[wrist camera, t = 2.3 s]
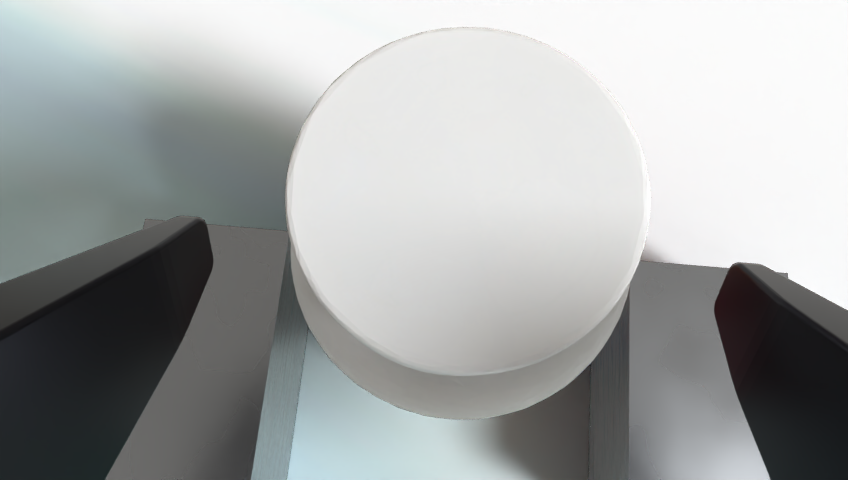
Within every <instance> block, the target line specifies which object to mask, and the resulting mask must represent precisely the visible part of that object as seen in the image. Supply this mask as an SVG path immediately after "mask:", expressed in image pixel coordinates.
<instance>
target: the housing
mask: <svg viewBox="0 0 848 480" xmlns="http://www.w3.org/2000/svg"><path fill="white" fill-rule="evenodd" d="M162 222H164V221H163V220H152V219H145V222H144V227H143V229H146V228H148V227H151V226H154V225H156V224H159V223H162ZM207 227H208V232H209V237H210V242H211V247H212V252H213V260H214V262H213V269H212V272H211V274H210V277H209V279H208V282H207V284H206V286H205V289H204V291H203V294H202V296H201V298H200V301H199V303H198V306H197V308H196V311H195V313H194V315H193V318H192V320H191V323H190V325H189V328H188V330H187V332H186V334H185V336H184V339H183V341H182V343H181V344H180V346H179V348H178V350H177V352H176V354H175V356H174V357H173V359H172V361H171V363H170V365H169V366H168V368H167V370H166V372H165V373H164V375H163V377H162V379H161V381H160V382H159V384H158V386H157V388H156V390H155V391H154V393H153V395H152V397H151V398H150V400H149V402H148V404H147V406H146V407H145V409H144V411H143V413H142V415H141V416H140V418H139V420H138V422H137V423H136V425H135V427H134V429H133V431H132V432H131V434H130V436H129V438H128V440H127V441H126V443H125V445H124V447H123V448H122V450H121V452H120V454H119V456H118V457H117V459H116V461H115V463H114V465H113V466H112V468H111V470H110V472H109V474H108V475H107V477H106V479H105V480H287V474H288V467H289V460H290V453H291V446H292V439H293V432H294V425H295V418H296V411H297V404H298V397H299V390H300V383H301V376H302V369H303V362H304V355H305V348H306V340H307V333H308V324H307V322H306V320H305V318H304V315H303V313H302V310H301V307H300V305H299V302H298V299H297V295H296V291H295V287H294V283H293V276H292V269H291V242H290V238H289V234H288V231H282V230H270V229H258V228H246V227H234V226H223V225H211V224H207ZM126 236H127V235H126ZM728 270H729V268H719V267H708V266H696V265H684V264H672V263H660V262H648V261H639V264H638V266H637V268H636V271H635V273H634V275H633V278H632V280H631V281H630V286H629V291H628V295H627V298H626V301H625V304H624V307H623V310H622V313H621V316H620V318H619V320H618V322H617V324H616V326H615V328H614V330H613V332H612V334H611V335H610V337H609V339H608V340H607V342H606V343H605V345H604V347H603V348H602V349H601V351H600V352H599V353H598V355H597V356H596V357H595V359H594V360H593V361H592V362H591V383H590V432H589V480H770V477H769V475H768V472H767V470H766V467H765V465H764V462H763V460H762V457H761V455H760V452H759V450H758V447H757V445H756V442H755V440H754V437H753V435H752V432H751V430H750V427H749V425H748V422H747V420H746V418H745V415H744V413H743V410H742V408H741V405H740V402H739V400H738V397H737V394H736V391H735V388H734V385H733V382H732V378H731V375H730V371H729V367H728V364H727V360H726V356H725V353H724V349H723V345H722V341H721V338H720V334H719V330H718V327H717V323H716V319H715V315H714V304H715V300H716V298H717V295H718V293H719V291H720V288H721V286H722V284H723V281H724V279H725V276H726V274H727V272H728ZM777 273H778V274H780V275H782V276H784V277H786V278H788V273H779V272H777Z"/></svg>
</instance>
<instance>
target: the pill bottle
mask: <svg viewBox="0 0 848 480" xmlns="http://www.w3.org/2000/svg"><path fill="white" fill-rule="evenodd" d="M650 201H651V197H650V182H649V177H648V172H647V165H646V160H645V157H644V154H643V151H642V148H641V145H640V142H639V139H638V137H637V135H636V133H635V131H634V129H633V127H632V125H631V123H630V121H629V119H628V117H627V115H626V114H625V112H624V111H623V109H622V108H621V106H620V105H619V103H618V102H617V101H616V99H615V98H614V97H613V95H612V94H611V93H610V92H609V90H608V89H607V88H606V87H605V86H604V85H603V84H602V83H601V82H600V81H599V80H598V79H597V78H596V77H595V76H594V75H593V74H591V73H590V72H589V71H588V70H587V69H586V68H584V67H583V66H582V65H580V64H579V63H577V62H576V61H575V60H573V59H572V58H570V57H569V56H567V55H566V54H564V53H562V52H561V51H559V50H557V49H555V48H553V47H551V46H549V45H547V44H544V43H542V42H540V41H537V40H535V39H532V38H529V37H526V36H523V35H519V34H515V33H511V32H507V31H502V30H497V29H491V28H478V27H459V28H442V29H436V30H431V31H426V32H421V33H418V34H414V35H411V36H408V37H405V38H402V39H399V40H397V41H394V42H391V43H389V44H387V45H385V46H383V47H381V48H379V49H377V50H375V51H373V52H372V53H370V54H368V55H367V56H365V57H364V58H362V59H360V60H359V61H357V62H356V63H355V64H354V65H352V66H351V67H350V68H349V69H348V70H346V71H345V72H344V73H343V74H342V75H340V76H339V77H338V78H337V79H336V80H335V81H334V82H333V83H332V84H331V85H330V87H329V88H328V89H327V90H326V91H325V92H324V94H323V95H322V96H321V97H320V98H319V100H318V101H317V103H316V104H315V106H314V107H313V109H312V110H311V112H310V113H309V115H308V117H307V118H306V120H305V122H304V124H303V126H302V128H301V130H300V132H299V134H298V136H297V139H296V142H295V145H294V148H293V151H292V154H291V158H290V162H289V166H288V172H287V178H286V190H285V210H286V222H287V230H288V234H289V238H290V242H291V269H292V276H293V283H294V287H295V291H296V295H297V299H298V302H299V305H300V307H301V310H302V313H303V315H304V318H305V320H306V322H307V324H308V326H309V328H310V330H311V332H312V333H313V335H314V337H315V339H316V340H317V341H318V343H319V344H320V346H321V347H322V349H323V350H324V351H325V353H326V354H327V355H328V357H329V358H330V359H331V361H332V362H333V363H334V364H335V365H336V366H337V367H338V368H339V369H340V370H341V371H342V372H343V373H344V374H346V375H347V376H348V377H349V378H350V379H351V380H352V381H354V382H355V383H356V384H357V385H359V386H360V387H362V388H363V389H365V390H366V391H368V392H369V393H371V394H372V395H374V396H376V397H377V398H379V399H381V400H383V401H385V402H388V403H390V404H392V405H394V406H396V407H398V408H401V409H404V410H407V411H411V412H414V413H418V414H421V415H425V416H429V417H435V418H444V419H455V420H473V419H484V418H491V417H497V416H501V415H505V414H509V413H512V412H515V411H519V410H522V409H525V408H528V407H530V406H532V405H534V404H536V403H538V402H540V401H542V400H544V399H546V398H548V397H550V396H551V395H553V394H554V393H556V392H558V391H559V390H561V389H562V388H564V387H565V386H567V385H568V384H569V383H570V382H571V381H573V380H574V379H575V378H576V377H577V376H578V375H579V374H580V373H581V372H582V371H583V370H584V369H585V368H586V367H587V366H588V365H589V364H590V363H591V362H592V361H593V360H594V359H595V357H596V356H597V355H598V353H599V352H600V351H601V349H602V348H603V347H604V345H605V343H606V342H607V340H608V339H609V337H610V335H611V334H612V332H613V330H614V328H615V326H616V324H617V322H618V320H619V318H620V316H621V313H622V310H623V307H624V304H625V301H626V298H627V295H628V291H629V286H630V281H631V280H632V278H633V275H634V273H635V271H636V268H637V266H638V264H639V261H640V258H641V255H642V252H643V249H644V245H645V242H646V238H647V233H648V227H649V220H650Z"/></svg>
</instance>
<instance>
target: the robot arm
mask: <svg viewBox="0 0 848 480" xmlns="http://www.w3.org/2000/svg"><path fill="white" fill-rule="evenodd" d="M213 262H214V260H213V252H212V247H211V242H210V237H209V232H208V227H207V224H206V222H205V220H203V219H202V218H200V217H191V216H177V217H175V218H172V219H169V220H167V221H164V222H162V223H159V224H156V225H154V226H151V227H148V228H146V229H143V230H140V231H138V232H135V233H133V234H130V235H127V236H125V237H122V238H119V239H117V240H114V241H112V242H109V243H106V244H104V245H101V246H98V247H96V248H93V249H90V250H88V251H85V252H83V253H80V254H77V255H75V256H72V257H69V258H67V259H64V260H62V261H59V262H56V263H54V264H51V265H48V266H46V267H43V268H41V269H38V270H35V271H33V272H30V273H27V274H25V275H22V276H19V277H17V278H14V279H12V280H9V281H6V282H4V283H1V284H0V480H105V479H106V477H107V475H108V474H109V472H110V470H111V468H112V466H113V465H114V463H115V461H116V459H117V457H118V456H119V454H120V452H121V450H122V448H123V447H124V445H125V443H126V441H127V440H128V438H129V436H130V434H131V432H132V431H133V429H134V427H135V425H136V423H137V422H138V420H139V418H140V416H141V415H142V413H143V411H144V409H145V407H146V406H147V404H148V402H149V400H150V398H151V397H152V395H153V393H154V391H155V390H156V388H157V386H158V384H159V382H160V381H161V379H162V377H163V375H164V373H165V372H166V370H167V368H168V366H169V365H170V363H171V361H172V359H173V357H174V356H175V354H176V352H177V350H178V348H179V346H180V344H181V343H182V341H183V339H184V336H185V334H186V332H187V330H188V328H189V325H190V323H191V320H192V318H193V315H194V313H195V311H196V308H197V306H198V303H199V301H200V298H201V296H202V294H203V291H204V289H205V286H206V284H207V282H208V279H209V277H210V274H211V272H212V269H213ZM714 315H715V319H716V323H717V327H718V330H719V334H720V338H721V341H722V345H723V349H724V353H725V356H726V360H727V364H728V367H729V371H730V375H731V378H732V382H733V385H734V388H735V391H736V394H737V397H738V400H739V402H740V405H741V408H742V410H743V413H744V415H745V418H746V420H747V422H748V425H749V427H750V430H751V432H752V435H753V437H754V440H755V442H756V445H757V447H758V450H759V452H760V455H761V457H762V460H763V462H764V465H765V467H766V470H767V472H768V475H769V477H770V480H848V310H846V309H844V308H842V307H840V306H838V305H836V304H835V303H833V302H831V301H829V300H827V299H825V298H823V297H821V296H820V295H818V294H816V293H814V292H812V291H810V290H808V289H806V288H805V287H803V286H801V285H799V284H797V283H795V282H793V281H792V280H790V279H788V278H786V277H784V276H782V275H780V274H778V273H777V272H775V271H773V270H771V269H769V268H767V267H765V266H763V265H761V264H753V263H741V262H738V263H735V264H733V265H732V266H731V267H730V268H729V270H728V272H727V274H726V276H725V279H724V281H723V284H722V286H721V288H720V291H719V293H718V295H717V298H716V300H715V304H714Z"/></svg>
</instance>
